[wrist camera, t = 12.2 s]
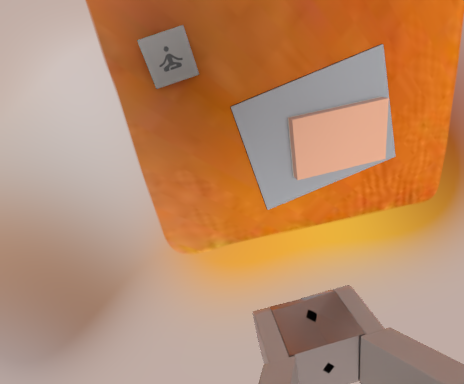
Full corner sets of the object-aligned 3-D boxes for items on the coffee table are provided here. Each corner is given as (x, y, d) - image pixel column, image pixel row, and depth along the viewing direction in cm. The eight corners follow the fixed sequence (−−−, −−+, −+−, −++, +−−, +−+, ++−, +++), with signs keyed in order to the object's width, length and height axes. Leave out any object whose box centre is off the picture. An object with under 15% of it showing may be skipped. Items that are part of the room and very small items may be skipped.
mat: (230, 106, 40) (230, 107, 39) (381, 44, 40) (383, 44, 40) (267, 208, 47) (267, 209, 47) (393, 155, 48) (395, 156, 47)
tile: (297, 180, 44) (385, 158, 45) (292, 119, 40) (388, 98, 41) (293, 175, 45) (378, 155, 46) (287, 117, 41) (380, 96, 43)
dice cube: (158, 85, 37) (156, 89, 33) (141, 42, 35) (137, 40, 30) (196, 72, 37) (199, 74, 33) (181, 29, 35) (183, 24, 31)
